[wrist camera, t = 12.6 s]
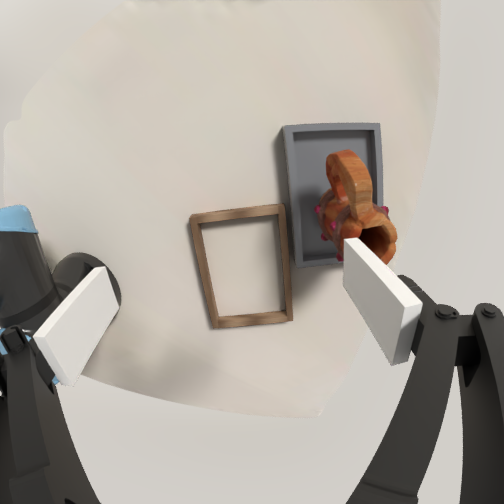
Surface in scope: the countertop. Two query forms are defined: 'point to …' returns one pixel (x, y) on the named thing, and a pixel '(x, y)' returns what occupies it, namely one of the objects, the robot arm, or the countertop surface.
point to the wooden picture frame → (205, 275)
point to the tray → (324, 179)
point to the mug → (353, 208)
